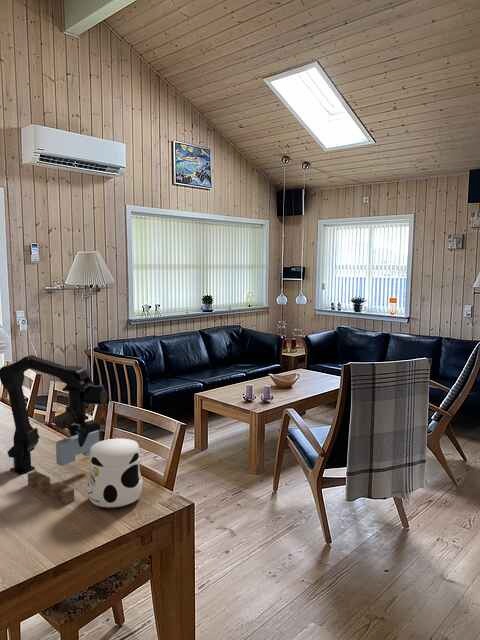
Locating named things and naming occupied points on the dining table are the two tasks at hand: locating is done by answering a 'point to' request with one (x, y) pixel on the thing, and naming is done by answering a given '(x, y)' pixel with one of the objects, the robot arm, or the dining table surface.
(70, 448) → the blue long flat plate
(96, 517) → the dining table surface
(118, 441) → the milk container
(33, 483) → the brown wooden bar
